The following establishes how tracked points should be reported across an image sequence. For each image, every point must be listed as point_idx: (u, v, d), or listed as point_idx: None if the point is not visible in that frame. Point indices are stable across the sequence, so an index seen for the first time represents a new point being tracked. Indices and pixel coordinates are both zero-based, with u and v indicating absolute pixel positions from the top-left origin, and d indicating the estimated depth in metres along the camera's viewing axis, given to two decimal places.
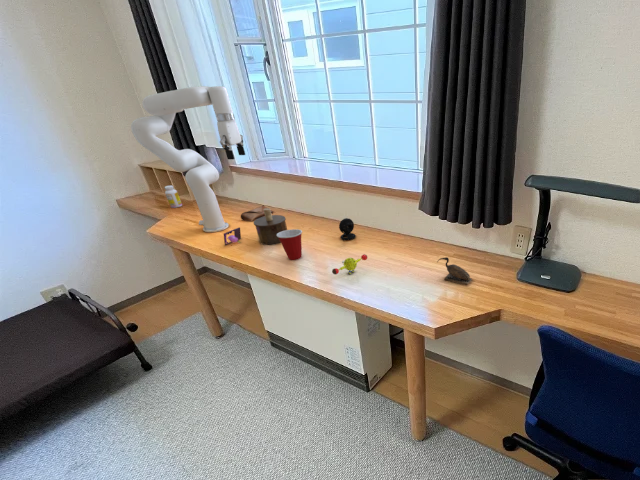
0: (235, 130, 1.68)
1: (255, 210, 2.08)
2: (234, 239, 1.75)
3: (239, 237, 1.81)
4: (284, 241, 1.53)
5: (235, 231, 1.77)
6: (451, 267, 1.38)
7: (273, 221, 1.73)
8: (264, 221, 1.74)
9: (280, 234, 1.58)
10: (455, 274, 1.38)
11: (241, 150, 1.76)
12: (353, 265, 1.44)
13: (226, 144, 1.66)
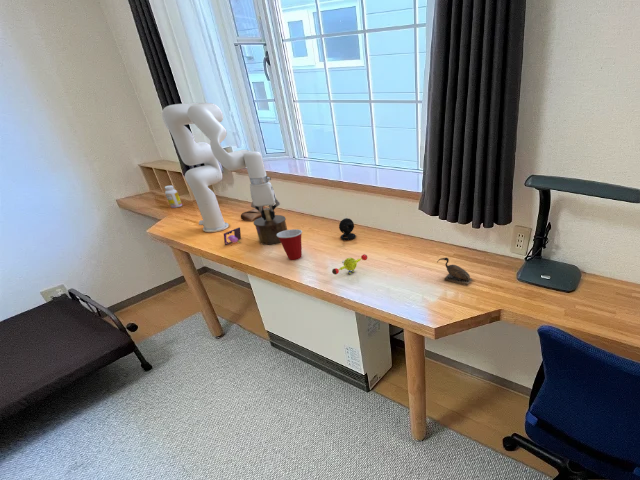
0: (263, 194, 1.66)
1: (255, 210, 2.08)
2: (234, 239, 1.75)
3: (239, 237, 1.81)
4: (284, 241, 1.53)
5: (235, 231, 1.77)
6: (451, 267, 1.38)
7: (273, 221, 1.73)
8: (264, 221, 1.74)
9: (280, 234, 1.58)
10: (455, 274, 1.37)
11: None
12: (353, 265, 1.44)
13: None
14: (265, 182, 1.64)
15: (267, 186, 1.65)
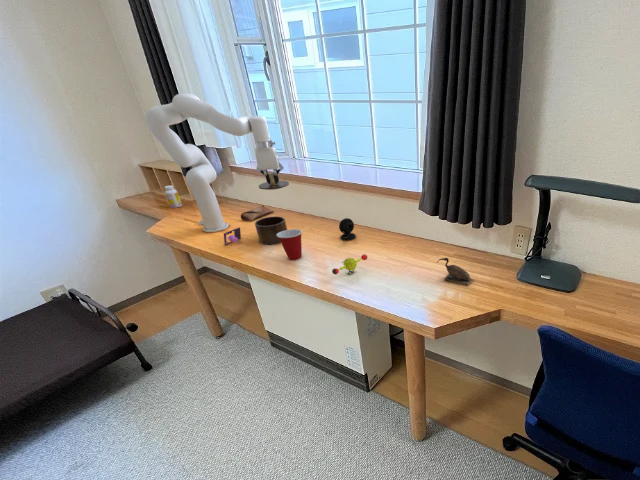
0: (268, 158, 1.76)
1: (255, 210, 2.08)
2: (234, 239, 1.75)
3: (239, 237, 1.81)
4: (284, 241, 1.53)
5: (235, 231, 1.77)
6: (451, 267, 1.37)
7: (277, 185, 1.83)
8: (268, 185, 1.83)
9: (280, 234, 1.58)
10: (455, 274, 1.37)
11: None
12: (353, 265, 1.44)
13: None
14: (270, 146, 1.74)
15: (271, 150, 1.75)
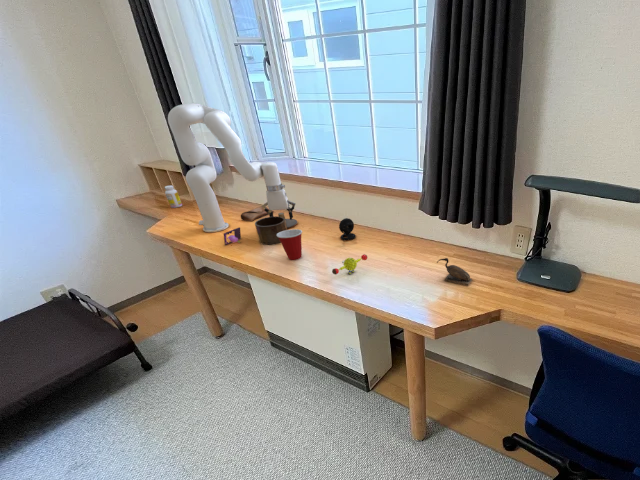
0: (278, 199, 1.87)
1: (255, 210, 2.08)
2: (234, 239, 1.75)
3: (239, 237, 1.81)
4: (284, 241, 1.53)
5: (235, 231, 1.77)
6: (451, 268, 1.37)
7: (286, 224, 1.94)
8: None
9: (280, 234, 1.58)
10: (455, 275, 1.37)
11: None
12: (353, 265, 1.44)
13: None
14: (280, 189, 1.85)
15: (281, 193, 1.86)
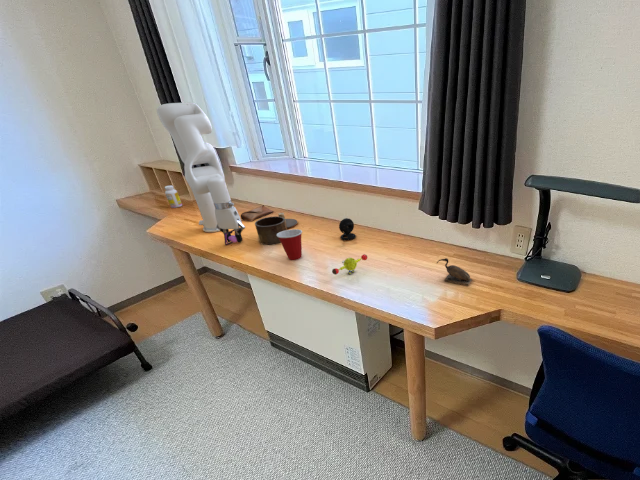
0: (226, 218, 1.69)
1: (255, 210, 2.08)
2: (234, 239, 1.75)
3: None
4: (284, 241, 1.53)
5: None
6: (451, 268, 1.37)
7: (286, 224, 1.94)
8: None
9: (280, 234, 1.58)
10: (455, 275, 1.37)
11: None
12: (353, 265, 1.44)
13: None
14: (227, 207, 1.67)
15: (229, 211, 1.67)
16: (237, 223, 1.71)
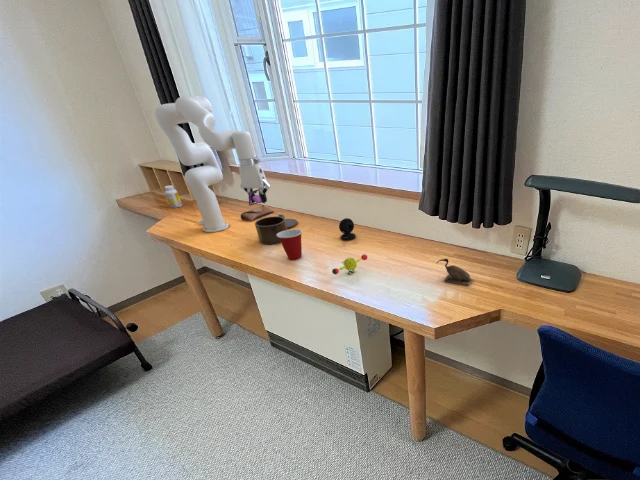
0: (251, 176, 1.61)
1: (255, 210, 2.08)
2: (259, 199, 1.67)
3: None
4: (284, 241, 1.53)
5: None
6: (451, 268, 1.37)
7: (286, 224, 1.94)
8: None
9: (280, 234, 1.58)
10: (455, 275, 1.37)
11: None
12: (353, 265, 1.44)
13: None
14: (253, 164, 1.58)
15: (255, 168, 1.59)
16: (262, 181, 1.63)
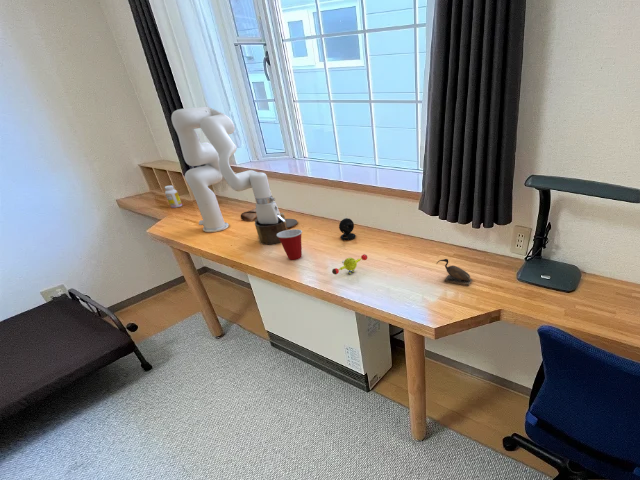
0: (267, 213, 1.71)
1: (255, 210, 2.08)
2: None
3: None
4: (284, 241, 1.53)
5: None
6: (451, 268, 1.37)
7: (286, 224, 1.94)
8: None
9: (280, 234, 1.58)
10: (456, 275, 1.37)
11: None
12: (353, 265, 1.44)
13: None
14: (268, 202, 1.68)
15: (270, 206, 1.69)
16: (277, 218, 1.73)
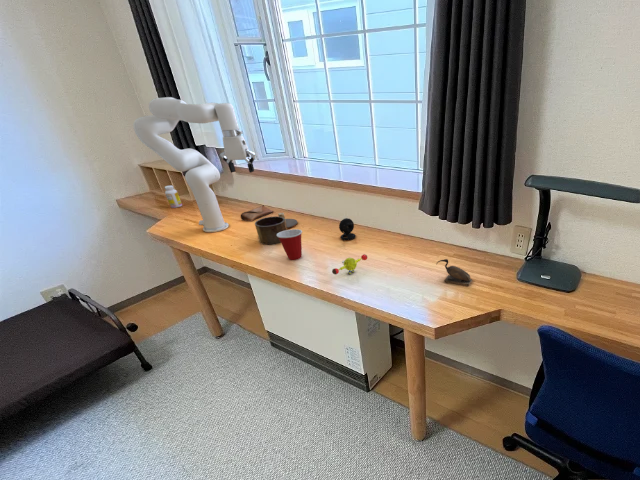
0: (234, 147, 1.67)
1: (255, 210, 2.08)
2: None
3: None
4: (284, 241, 1.53)
5: None
6: (451, 269, 1.37)
7: (286, 224, 1.94)
8: None
9: (280, 234, 1.58)
10: (456, 275, 1.37)
11: None
12: (353, 265, 1.44)
13: None
14: (235, 135, 1.64)
15: (238, 139, 1.65)
16: (245, 153, 1.69)
